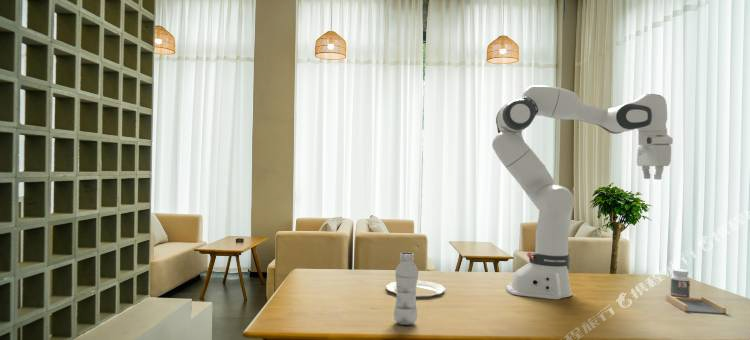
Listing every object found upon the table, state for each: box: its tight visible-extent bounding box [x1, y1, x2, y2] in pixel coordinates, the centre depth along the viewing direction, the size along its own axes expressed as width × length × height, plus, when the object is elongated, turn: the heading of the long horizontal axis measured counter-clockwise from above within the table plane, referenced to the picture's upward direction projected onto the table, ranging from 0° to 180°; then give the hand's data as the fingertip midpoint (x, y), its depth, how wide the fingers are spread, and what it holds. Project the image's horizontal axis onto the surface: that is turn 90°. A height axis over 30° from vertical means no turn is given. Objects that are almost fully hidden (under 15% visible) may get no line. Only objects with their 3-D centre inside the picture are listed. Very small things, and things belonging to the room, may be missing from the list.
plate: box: [385, 279, 446, 298], centre depth 170 cm, size 21×21×2 cm
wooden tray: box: [665, 294, 727, 315], centre depth 157 cm, size 12×14×2 cm
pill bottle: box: [669, 268, 691, 298], centre depth 167 cm, size 6×6×10 cm
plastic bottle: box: [393, 251, 419, 326], centre depth 135 cm, size 6×7×20 cm
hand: (652, 179), depth 169 cm, fingers open, 8 cm apart
